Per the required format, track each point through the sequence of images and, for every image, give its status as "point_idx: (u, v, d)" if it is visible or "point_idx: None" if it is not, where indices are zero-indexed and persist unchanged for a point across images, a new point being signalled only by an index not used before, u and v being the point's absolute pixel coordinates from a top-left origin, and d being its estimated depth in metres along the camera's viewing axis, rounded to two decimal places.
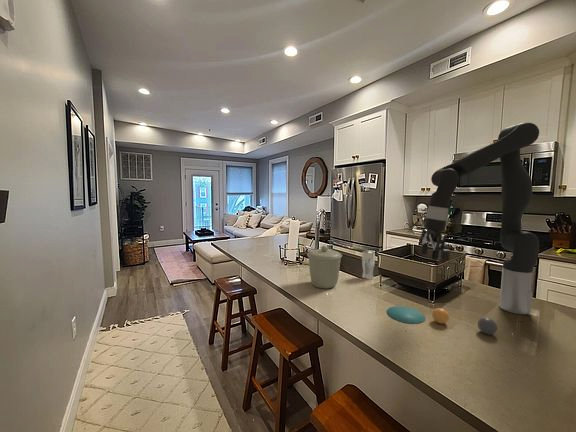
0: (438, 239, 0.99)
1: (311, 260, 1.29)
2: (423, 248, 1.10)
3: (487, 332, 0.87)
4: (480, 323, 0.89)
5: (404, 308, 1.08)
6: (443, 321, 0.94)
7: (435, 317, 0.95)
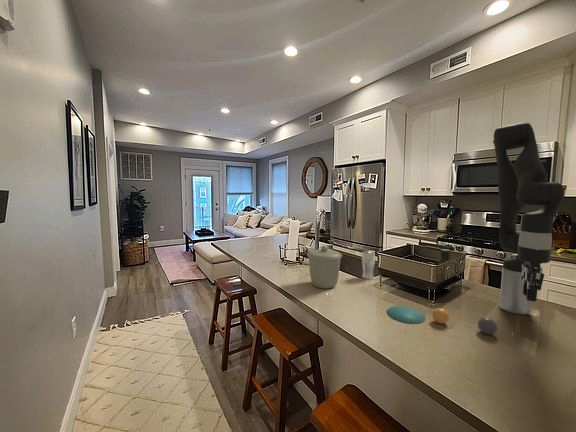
0: None
1: (311, 260, 1.29)
2: None
3: (487, 332, 0.87)
4: (480, 323, 0.89)
5: (404, 308, 1.08)
6: (443, 321, 0.94)
7: (435, 317, 0.95)
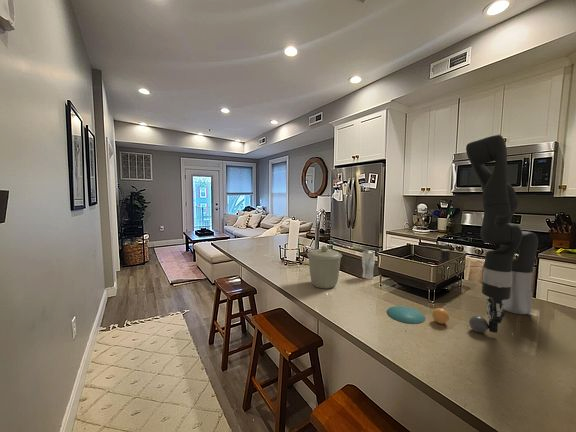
0: None
1: (311, 260, 1.29)
2: None
3: (481, 331, 0.88)
4: (470, 325, 0.90)
5: (404, 308, 1.08)
6: (443, 321, 0.94)
7: (435, 317, 0.95)
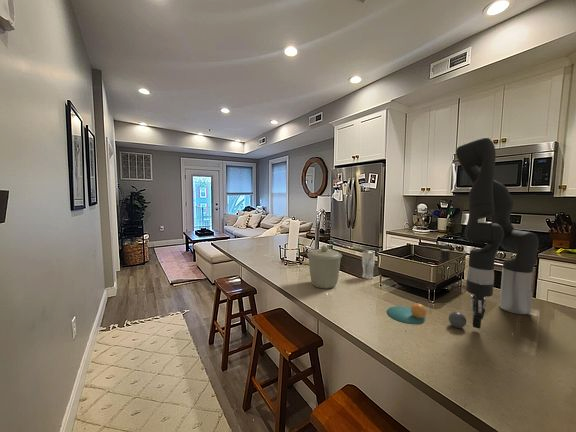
0: None
1: (311, 260, 1.29)
2: None
3: (460, 319, 0.91)
4: None
5: (404, 308, 1.08)
6: (416, 309, 0.98)
7: (422, 315, 0.98)
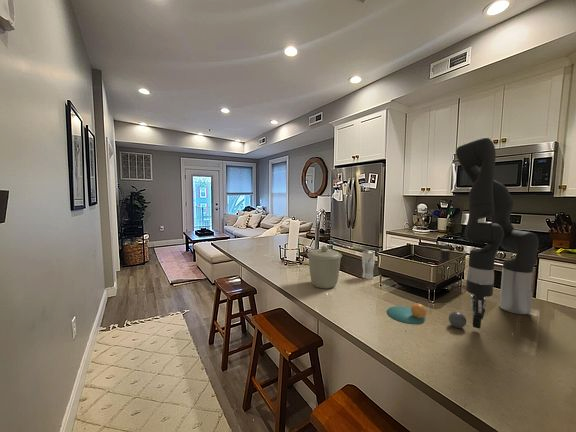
0: None
1: (311, 260, 1.29)
2: None
3: (460, 319, 0.91)
4: None
5: (404, 308, 1.08)
6: (416, 309, 0.98)
7: (422, 315, 0.98)
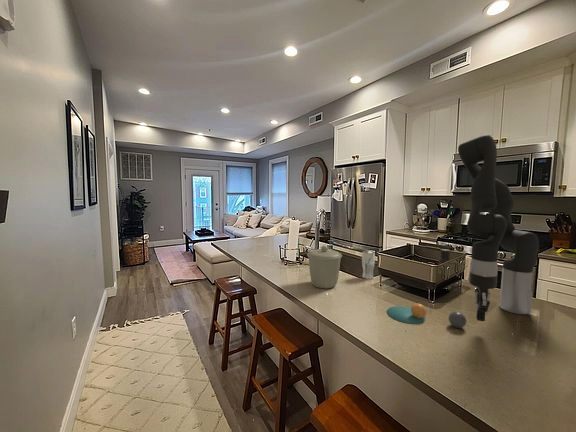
0: None
1: (311, 260, 1.29)
2: None
3: (460, 319, 0.91)
4: None
5: (404, 308, 1.08)
6: (416, 309, 0.98)
7: (422, 315, 0.98)
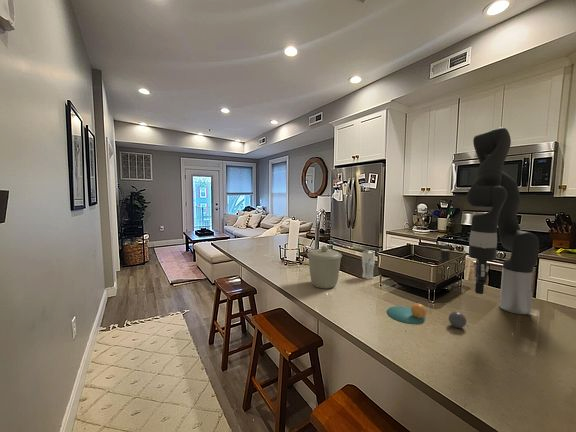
0: None
1: (311, 260, 1.29)
2: None
3: (460, 319, 0.91)
4: None
5: (404, 308, 1.08)
6: (416, 309, 0.98)
7: (422, 315, 0.98)
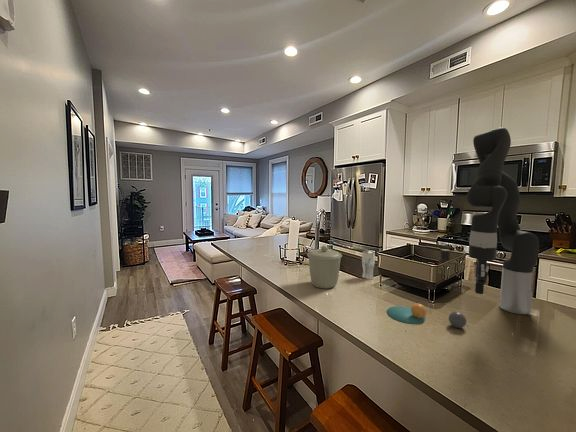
0: None
1: (311, 260, 1.29)
2: None
3: (460, 319, 0.91)
4: None
5: (404, 308, 1.08)
6: (416, 309, 0.98)
7: (422, 315, 0.98)
